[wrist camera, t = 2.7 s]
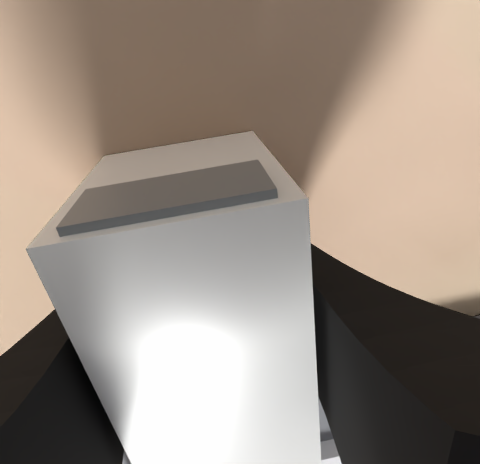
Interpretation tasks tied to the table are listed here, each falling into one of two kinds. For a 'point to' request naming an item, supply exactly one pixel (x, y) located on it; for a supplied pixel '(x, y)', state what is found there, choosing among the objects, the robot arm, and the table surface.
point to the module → (191, 301)
